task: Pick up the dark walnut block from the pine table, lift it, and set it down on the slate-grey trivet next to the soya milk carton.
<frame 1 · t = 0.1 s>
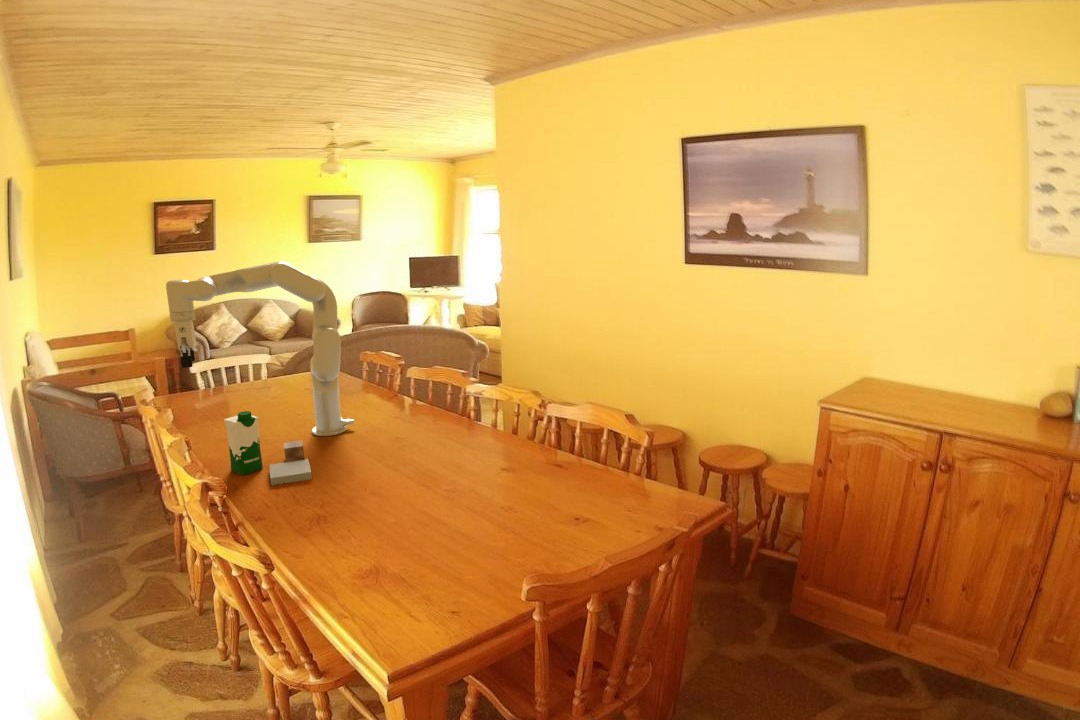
hand: (188, 364, 222), 31 cm above the table, tool pointing down, fingers open, 9 cm apart
trivet: (290, 475, 205), on the table
walnut block: (294, 461, 218), on the table
soya milk: (247, 470, 210), on the table
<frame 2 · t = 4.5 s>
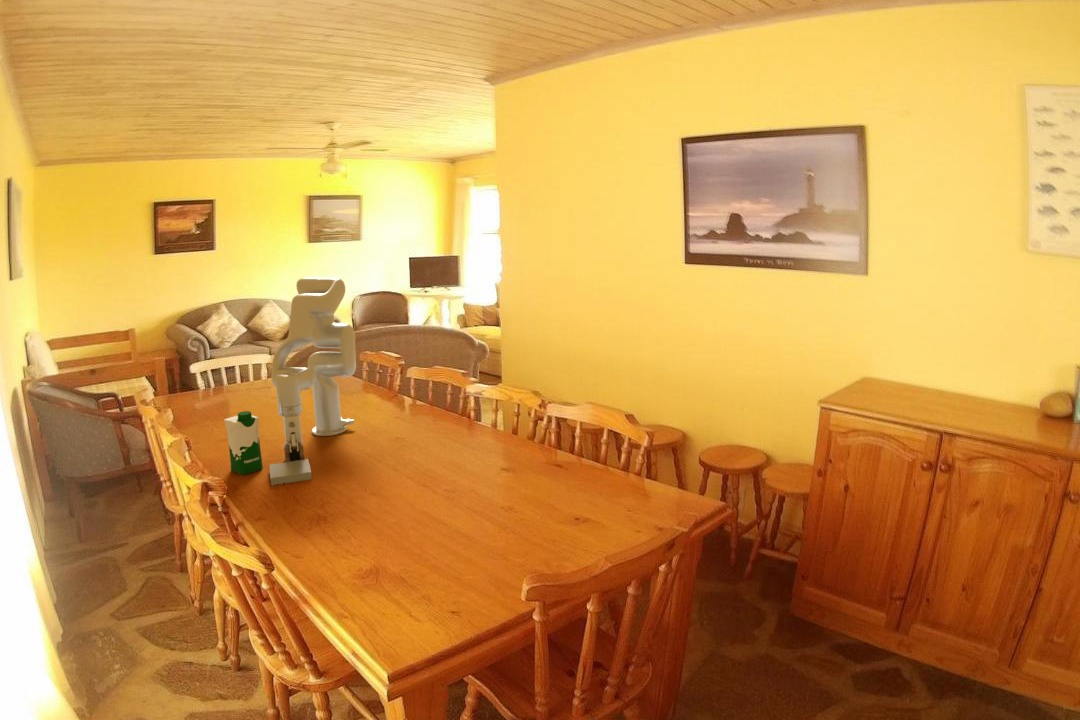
hand: (294, 458, 217), 1 cm above the table, tool pointing down, fingers closed on walnut block, 6 cm apart
walnut block: (294, 460, 218), on the table, touching gripper
everything else where it was.
when the fingers open (4 cm above the table, at t = 9.2 s): walnut block drops 1 cm, resting on trivet.
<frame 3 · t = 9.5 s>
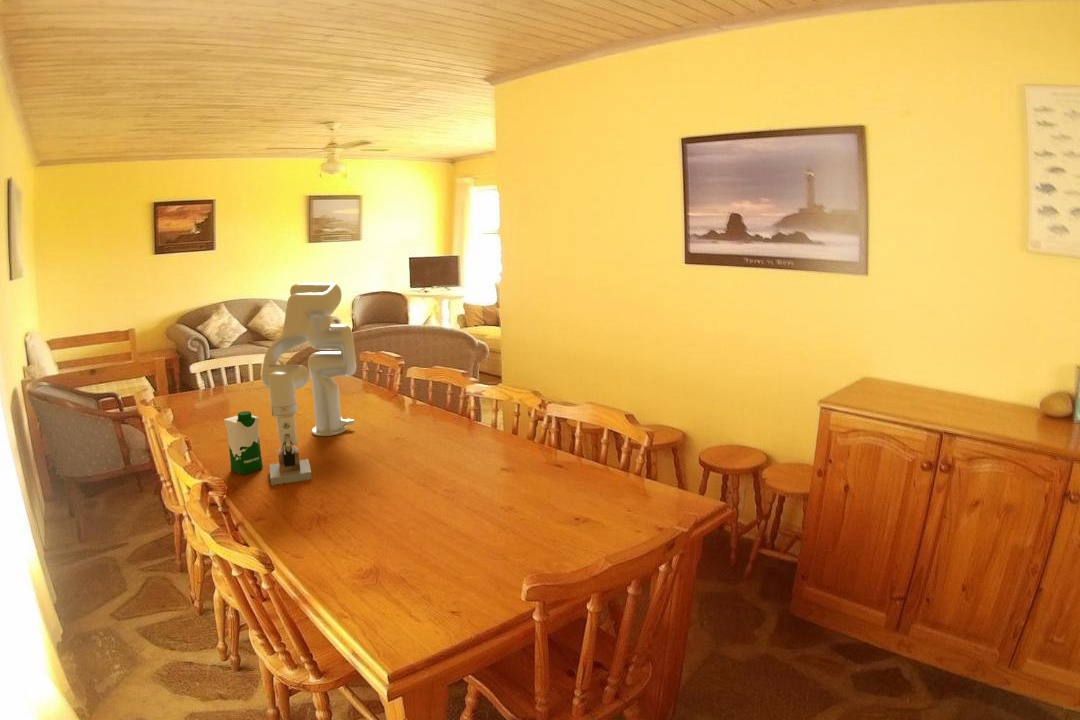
hand: (289, 460, 204), 5 cm above the table, tool pointing down, fingers open, 8 cm apart
walnut block: (289, 468, 205), point 2 cm above the table, touching trivet
everything else where it was.
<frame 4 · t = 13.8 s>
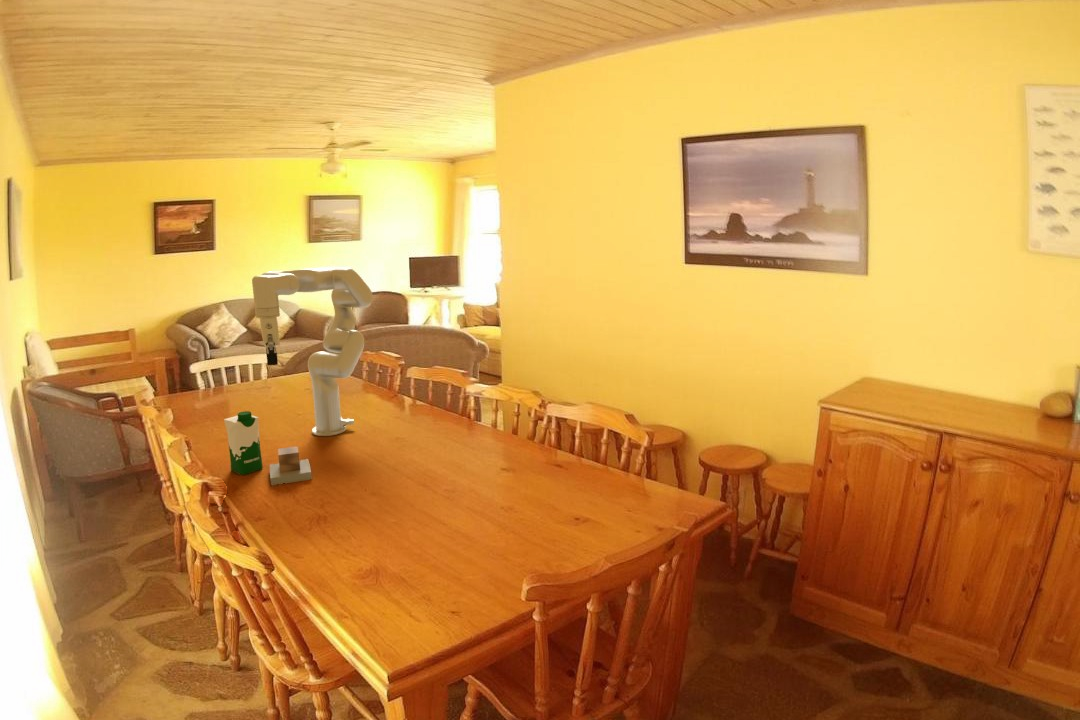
hand: (272, 361, 217), 33 cm above the table, tool pointing down, fingers open, 9 cm apart
nothing on the table moved.
at the end: walnut block inside the target area on the trivet (0.1 cm from its centre), point 2.5 cm above the trivet's base; walnut block tilted 0°; the gripper is holding nothing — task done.
